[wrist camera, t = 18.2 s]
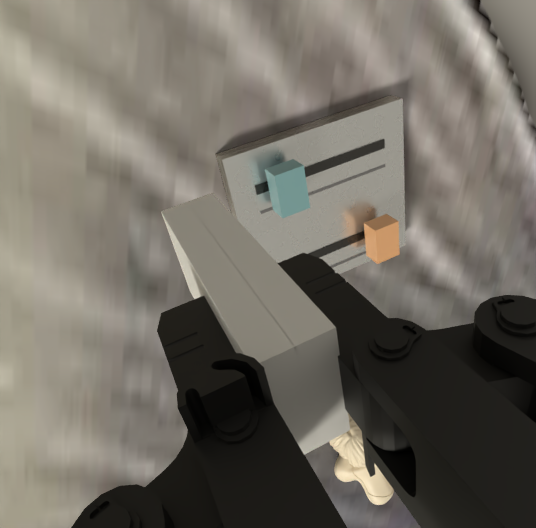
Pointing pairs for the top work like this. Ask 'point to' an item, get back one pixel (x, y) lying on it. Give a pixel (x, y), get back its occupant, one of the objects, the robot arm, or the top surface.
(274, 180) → the fader
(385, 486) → the figurine
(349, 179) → the console
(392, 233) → the fader
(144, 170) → the top surface
